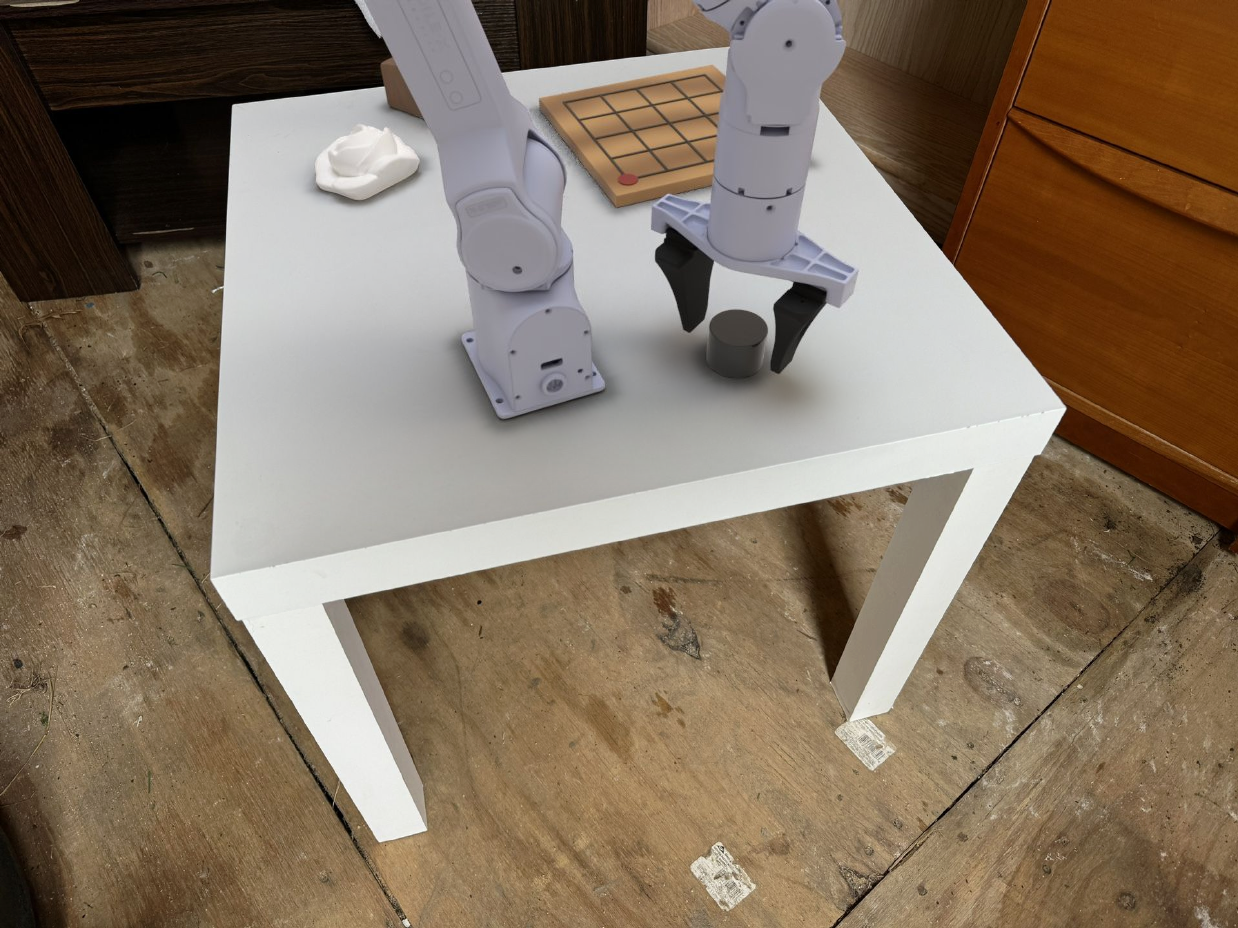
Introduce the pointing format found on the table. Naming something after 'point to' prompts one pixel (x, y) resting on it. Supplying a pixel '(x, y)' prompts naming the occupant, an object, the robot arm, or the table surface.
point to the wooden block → (398, 89)
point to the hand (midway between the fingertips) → (736, 344)
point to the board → (643, 132)
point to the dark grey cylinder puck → (736, 343)
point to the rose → (364, 163)
